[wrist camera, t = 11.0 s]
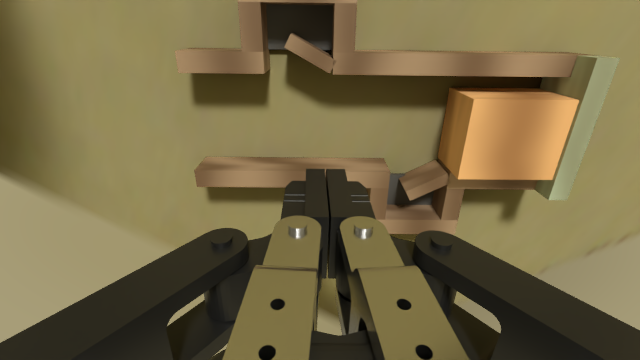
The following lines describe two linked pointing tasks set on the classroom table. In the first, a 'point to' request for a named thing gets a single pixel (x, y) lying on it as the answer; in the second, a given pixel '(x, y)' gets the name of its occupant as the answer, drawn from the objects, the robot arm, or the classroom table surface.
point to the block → (505, 132)
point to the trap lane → (339, 36)
